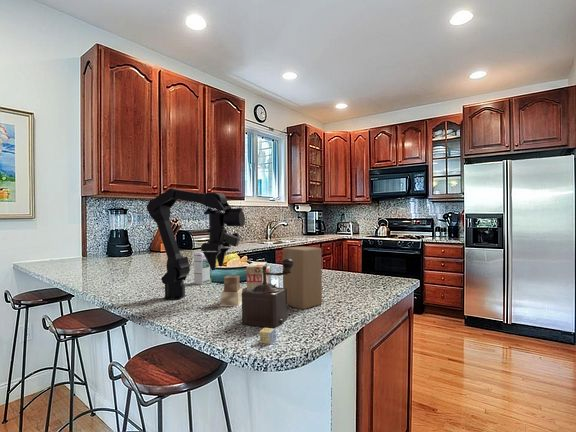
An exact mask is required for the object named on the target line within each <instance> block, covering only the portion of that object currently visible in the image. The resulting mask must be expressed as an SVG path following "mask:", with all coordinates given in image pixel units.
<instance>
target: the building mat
mask: <svg viewBox="0 0 576 432" xmlns="http://www.w3.org/2000/svg"><path fill="white" fill-rule="evenodd" d="M241 306H242V302H241V303H240V304H239V305H221V304H220V305H219V307H241Z"/></svg>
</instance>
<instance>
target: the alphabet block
mask: <svg viewBox="0 0 576 432" xmlns="http://www.w3.org/2000/svg"><path fill="white" fill-rule="evenodd" d="M276 335H277V332H276V328H274V329H272V328H262V329H261V330H259V343H260V344H267V345H272V344H273V343H275V341H277V336H276Z"/></svg>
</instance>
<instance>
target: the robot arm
mask: <svg viewBox="0 0 576 432" xmlns="http://www.w3.org/2000/svg"><path fill="white" fill-rule="evenodd" d="M227 199H228V198H227V197H226V196H225V194H223V193H218V192H204V193H203V192H202V193H200V192H195V191H187V190H181V189H179V188H168V189H167V190H166V191H165V192H163V193H161V194H159V195H157V196H156V197H154V198H153V199H150V200H149V201H148V203H147V204H146V210H147V212H148V214H149V216H150V217H151V219H152V220H153V221H154V222H155V223H156V225H157V228H158V231H159V235H160V238H161V241H162V244H163V248H164V251H165V254H166V256H167V257H166V258H167V260H166V273H164V275H163V276H162V277H161V279H160V280H161V283H162V284H164V297H163V298H162V299H163V300H181V299H182V298H184V297H186V286H185V283H184V282H185V281H186V280H187V276H188V275H189V274H190V272H191V268H190V267H191V264H190V263H189V262H190V261H189V258H188V256H183V255H182V254H181V251H180V248H179V246H178V242H177V240H176V236H175V233H174V230H173V227H172V224H171V221H170V218H171V208H172V207H173V206H174V205H175V203H176V202H177V201H179V200H180V201H187V202H191V203H198V204H200V205H203V206H205V207H207V209H206V210H205V211H204V212H203V215H208V218H209V220H208V224H209V225H208V229H207V233H208V234H209V235H208V240H207V242H204V243H202V244H201V245H200V252H203V253H204V255H205V257H206V259H207V261H208V263H209V265H210V267H211V271H216V267H217V264H218V266H219V267H220V268H221V267H223V265H224V261H225V256H226V253H227V252H228V251H229V250H230V249H231V248H232V247H237V246H239V243H240V242H241V236H240V233H237V232H234V233H228V230H227V229H226V228H225V227H226V226H227V227H244V226H245V222H246V217H245V214H244V211H243V209H244V208H242V207H241V208H240V207H236V208H232V207H231V206H230V204H229V202H228V201H227Z"/></svg>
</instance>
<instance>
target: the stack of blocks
mask: <svg viewBox="0 0 576 432" xmlns="http://www.w3.org/2000/svg"><path fill="white" fill-rule="evenodd" d="M263 266H266V267H267V268H266V271H267V272H272V271H271V270H272V268H271V265H268V262H267V261H253V262H251V263H249V264H248V265H246V267H245V268H246V269H245V270H246V271H245V272H246V277H245V278H246V291H247V290H250V289H253V288H255V287H256V286H258V285H260V284H262V283H263V273H262V271H263V269H262V267H263ZM266 282H267V284H269V283H271V284H272V275H266Z"/></svg>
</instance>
